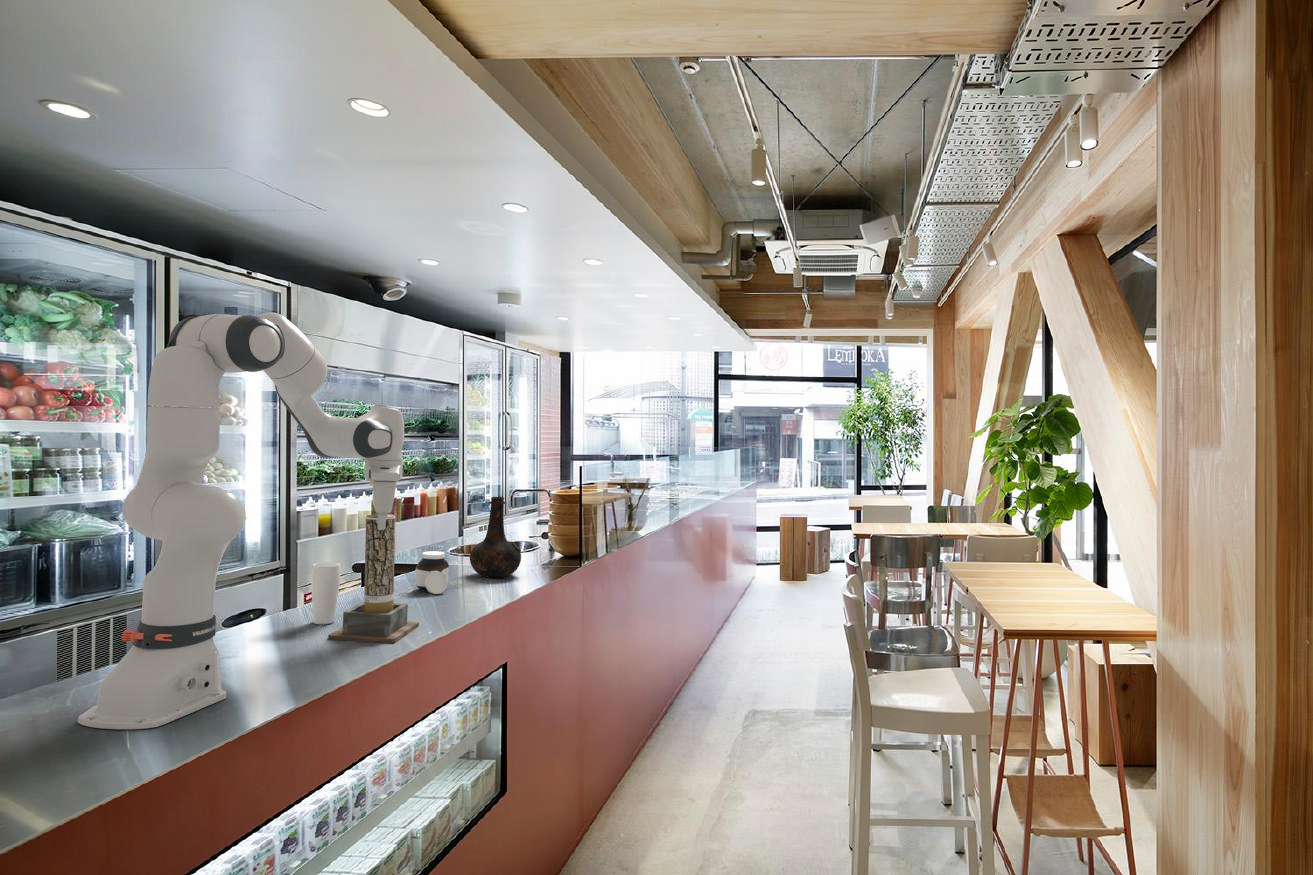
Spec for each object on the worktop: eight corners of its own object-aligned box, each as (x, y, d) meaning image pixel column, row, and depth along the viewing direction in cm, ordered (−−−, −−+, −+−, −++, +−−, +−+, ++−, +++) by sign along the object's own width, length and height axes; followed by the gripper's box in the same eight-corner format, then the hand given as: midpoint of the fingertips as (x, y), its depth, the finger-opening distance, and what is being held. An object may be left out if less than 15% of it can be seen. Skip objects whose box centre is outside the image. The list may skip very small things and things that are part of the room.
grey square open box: (394, 643, 172) (396, 617, 172) (328, 639, 173) (329, 613, 173) (418, 625, 188) (420, 602, 188) (357, 622, 189) (358, 599, 189)
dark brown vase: (515, 581, 249) (519, 500, 249) (463, 579, 249) (467, 497, 249) (524, 572, 267) (528, 496, 267) (475, 569, 267) (479, 493, 267)
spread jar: (433, 585, 237) (435, 549, 237) (460, 590, 232) (462, 553, 232) (406, 591, 227) (408, 554, 227) (433, 596, 222) (435, 558, 222)
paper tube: (383, 620, 177) (385, 518, 176) (358, 618, 178) (360, 516, 178) (398, 614, 183) (400, 514, 183) (374, 612, 185) (376, 513, 184)
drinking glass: (343, 621, 189) (346, 563, 189) (322, 627, 182) (325, 567, 182) (325, 617, 191) (328, 560, 191) (302, 623, 185) (305, 564, 185)
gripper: (368, 468, 189) (365, 522, 189) (371, 473, 170) (368, 532, 170) (394, 469, 191) (391, 522, 191) (399, 474, 172) (396, 532, 172)
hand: (380, 527), depth 180 cm, fingers closed on paper tube, 7 cm apart
